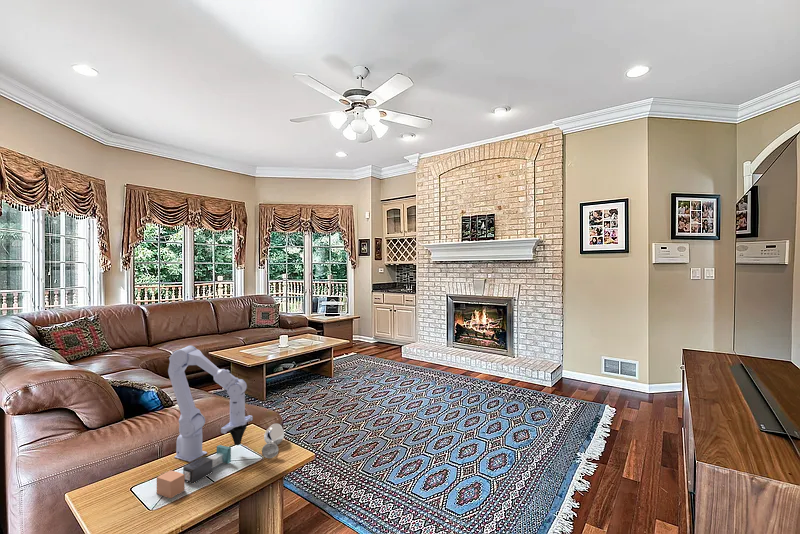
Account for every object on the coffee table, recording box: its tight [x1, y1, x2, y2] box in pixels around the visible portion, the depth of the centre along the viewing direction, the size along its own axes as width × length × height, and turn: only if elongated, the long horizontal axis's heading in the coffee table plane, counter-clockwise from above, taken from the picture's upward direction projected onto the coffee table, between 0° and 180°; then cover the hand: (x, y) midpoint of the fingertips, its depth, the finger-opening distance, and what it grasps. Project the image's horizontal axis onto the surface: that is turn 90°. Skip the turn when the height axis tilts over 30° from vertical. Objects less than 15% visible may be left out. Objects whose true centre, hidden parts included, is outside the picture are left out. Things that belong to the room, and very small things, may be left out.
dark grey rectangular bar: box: [182, 456, 213, 484], centre depth 138 cm, size 5×8×5 cm, turn 157°
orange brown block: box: [156, 469, 186, 499], centre depth 128 cm, size 7×5×6 cm
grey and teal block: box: [184, 444, 232, 481], centre depth 141 cm, size 6×16×6 cm, turn 157°
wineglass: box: [261, 423, 285, 459], centre depth 160 cm, size 8×8×18 cm
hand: (237, 444), depth 155 cm, fingers closed
